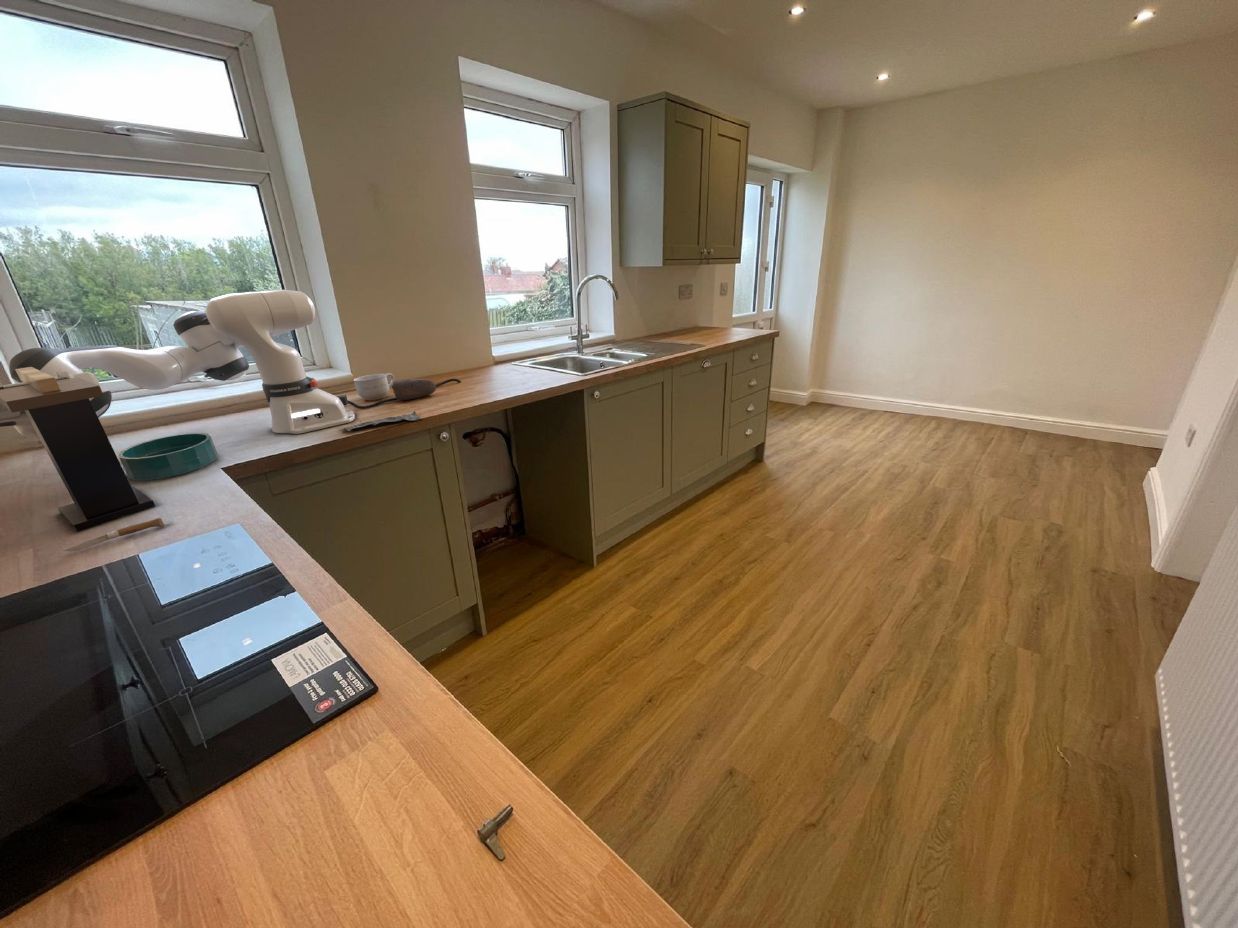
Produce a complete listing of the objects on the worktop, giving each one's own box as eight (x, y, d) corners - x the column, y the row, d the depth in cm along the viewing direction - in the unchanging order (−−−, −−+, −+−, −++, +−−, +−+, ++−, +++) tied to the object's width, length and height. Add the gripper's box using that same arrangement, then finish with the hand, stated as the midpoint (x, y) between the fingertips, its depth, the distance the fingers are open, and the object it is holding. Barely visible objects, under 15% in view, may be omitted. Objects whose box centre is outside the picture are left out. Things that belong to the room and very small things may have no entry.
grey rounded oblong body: (435, 392, 183) (431, 373, 180) (440, 395, 179) (436, 376, 176) (392, 400, 175) (388, 381, 172) (396, 403, 171) (391, 384, 168)
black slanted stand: (59, 511, 105) (-8, 391, 95) (132, 489, 114) (78, 377, 104) (77, 531, 96) (5, 401, 86) (155, 506, 105) (99, 385, 95)
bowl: (222, 449, 137) (214, 428, 134) (213, 470, 123) (204, 447, 120) (139, 464, 129) (129, 442, 126) (119, 488, 115) (107, 464, 112)
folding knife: (66, 557, 88) (60, 548, 87) (66, 554, 89) (60, 544, 88) (165, 527, 97) (161, 518, 96) (164, 524, 98) (160, 515, 97)
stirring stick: (20, 380, 103) (14, 369, 102) (37, 378, 105) (31, 366, 104) (42, 393, 91) (36, 380, 90) (61, 390, 93) (54, 377, 92)
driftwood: (345, 434, 144) (343, 427, 143) (343, 428, 149) (341, 421, 148) (420, 420, 153) (418, 414, 152) (416, 415, 159) (414, 409, 158)
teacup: (363, 404, 172) (358, 381, 169) (354, 398, 180) (349, 376, 177) (404, 396, 181) (399, 374, 177) (394, 390, 188) (389, 369, 185)
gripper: (106, 404, 120) (106, 381, 110) (-25, 430, 104) (-37, 406, 95) (92, 381, 119) (91, 355, 110) (-42, 403, 104) (-55, 376, 95)
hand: (30, 379), depth 102 cm, fingers open, 8 cm apart
